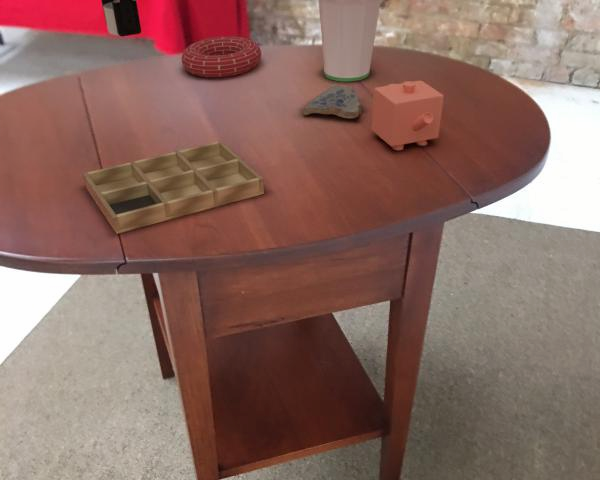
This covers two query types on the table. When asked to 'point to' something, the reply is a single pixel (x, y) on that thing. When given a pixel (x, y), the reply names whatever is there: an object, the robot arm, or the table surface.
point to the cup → (348, 37)
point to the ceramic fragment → (336, 103)
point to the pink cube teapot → (406, 113)
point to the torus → (221, 56)
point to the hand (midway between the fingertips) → (123, 28)
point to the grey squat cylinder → (110, 18)
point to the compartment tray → (171, 185)
